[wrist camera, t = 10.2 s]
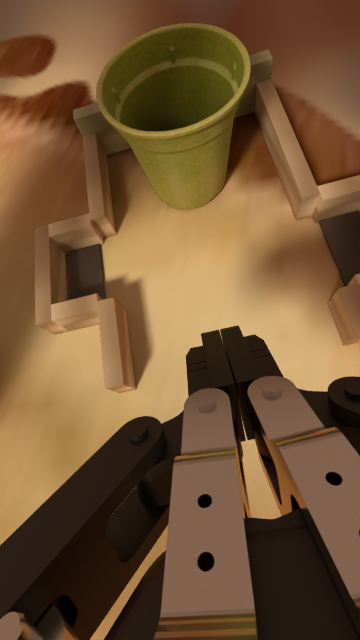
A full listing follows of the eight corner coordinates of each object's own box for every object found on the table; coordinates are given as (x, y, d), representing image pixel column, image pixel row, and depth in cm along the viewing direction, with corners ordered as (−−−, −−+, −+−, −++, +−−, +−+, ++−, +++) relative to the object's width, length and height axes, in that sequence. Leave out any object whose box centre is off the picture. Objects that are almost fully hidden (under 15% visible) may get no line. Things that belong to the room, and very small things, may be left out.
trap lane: (57, 405, 22) (21, 400, 19) (48, 162, 31) (22, 125, 27) (438, 325, 20) (484, 300, 16) (316, 83, 28) (328, 30, 24)
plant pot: (241, 130, 28) (242, 7, 20) (252, 219, 25) (259, 116, 17) (138, 148, 29) (100, 40, 21) (136, 235, 26) (91, 147, 18)
